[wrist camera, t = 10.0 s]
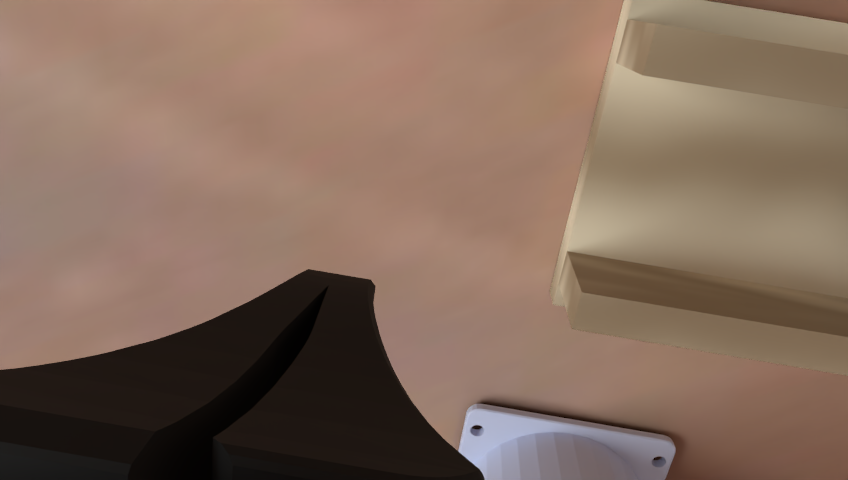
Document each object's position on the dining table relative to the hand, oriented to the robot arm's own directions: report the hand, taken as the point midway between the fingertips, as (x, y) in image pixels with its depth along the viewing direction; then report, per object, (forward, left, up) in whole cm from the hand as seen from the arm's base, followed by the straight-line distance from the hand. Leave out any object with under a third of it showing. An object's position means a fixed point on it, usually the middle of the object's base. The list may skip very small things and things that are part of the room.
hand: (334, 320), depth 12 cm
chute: (+2, -16, -9) cm, 18 cm away
